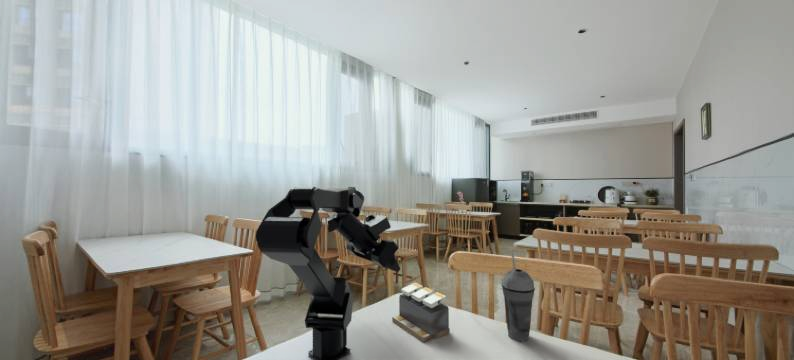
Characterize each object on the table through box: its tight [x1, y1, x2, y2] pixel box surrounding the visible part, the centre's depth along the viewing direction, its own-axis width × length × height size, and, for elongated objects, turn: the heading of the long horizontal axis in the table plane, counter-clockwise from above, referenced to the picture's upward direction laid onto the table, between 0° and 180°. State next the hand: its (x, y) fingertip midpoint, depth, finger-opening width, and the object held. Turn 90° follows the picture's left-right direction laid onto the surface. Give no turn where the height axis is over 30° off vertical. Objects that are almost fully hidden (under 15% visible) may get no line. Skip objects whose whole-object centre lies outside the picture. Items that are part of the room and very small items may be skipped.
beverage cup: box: [501, 250, 536, 342], centre depth 71 cm, size 7×7×20 cm
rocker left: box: [400, 282, 424, 296], centre depth 81 cm, size 5×3×1 cm
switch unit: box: [391, 293, 451, 343], centre depth 76 cm, size 8×13×6 cm, turn 34°
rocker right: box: [422, 291, 447, 308], centre depth 73 cm, size 5×3×1 cm
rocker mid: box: [411, 286, 435, 302], centre depth 77 cm, size 5×3×1 cm
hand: (389, 266), depth 83 cm, fingers open, 9 cm apart
